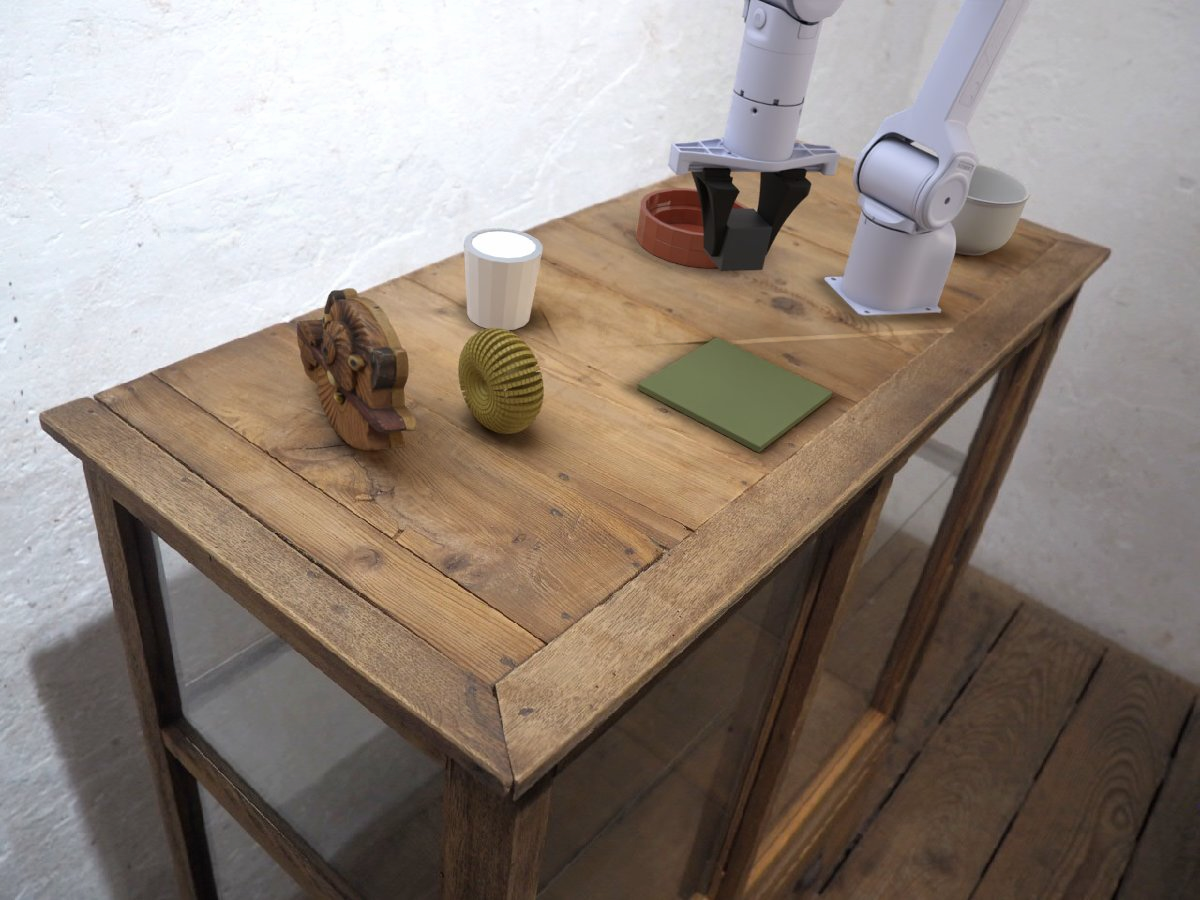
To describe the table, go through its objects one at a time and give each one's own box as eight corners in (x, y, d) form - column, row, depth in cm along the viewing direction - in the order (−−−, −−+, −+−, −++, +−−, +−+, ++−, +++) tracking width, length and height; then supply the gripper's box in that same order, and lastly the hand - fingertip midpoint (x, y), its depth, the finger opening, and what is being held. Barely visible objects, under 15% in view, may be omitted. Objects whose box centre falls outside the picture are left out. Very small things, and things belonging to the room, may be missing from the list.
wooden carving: (276, 381, 82) (267, 264, 76) (330, 367, 84) (326, 253, 79) (378, 496, 72) (377, 372, 66) (436, 476, 74) (440, 355, 69)
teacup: (1017, 245, 123) (1041, 180, 118) (992, 275, 115) (1018, 206, 110) (904, 209, 128) (923, 145, 124) (873, 235, 120) (893, 167, 116)
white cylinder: (525, 340, 91) (532, 267, 87) (450, 324, 92) (453, 251, 88) (544, 305, 97) (551, 235, 93) (473, 291, 98) (477, 221, 94)
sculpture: (446, 407, 82) (449, 316, 77) (488, 393, 84) (494, 304, 79) (506, 460, 77) (513, 367, 72) (549, 444, 79) (559, 352, 75)
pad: (715, 342, 95) (716, 336, 95) (831, 397, 90) (833, 391, 89) (636, 389, 87) (637, 383, 87) (758, 453, 82) (760, 446, 81)
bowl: (722, 221, 118) (728, 187, 116) (767, 270, 109) (775, 235, 107) (620, 223, 115) (624, 188, 112) (657, 274, 105) (664, 237, 103)
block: (744, 250, 94) (753, 208, 92) (762, 270, 91) (772, 227, 89) (703, 250, 93) (711, 208, 91) (720, 271, 90) (729, 228, 88)
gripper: (826, 81, 89) (790, 230, 97) (667, 75, 84) (642, 232, 92) (866, 109, 84) (824, 265, 91) (698, 105, 79) (669, 268, 87)
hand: (735, 251), depth 92 cm, fingers closed on block, 4 cm apart
